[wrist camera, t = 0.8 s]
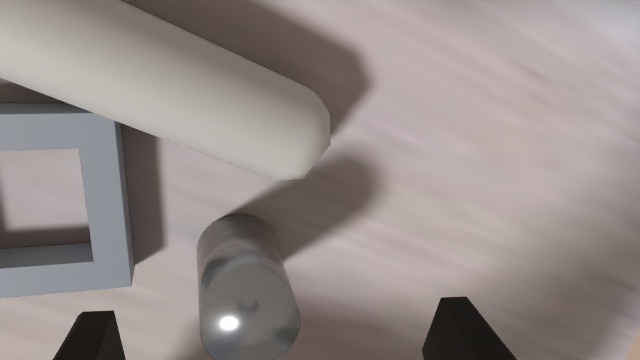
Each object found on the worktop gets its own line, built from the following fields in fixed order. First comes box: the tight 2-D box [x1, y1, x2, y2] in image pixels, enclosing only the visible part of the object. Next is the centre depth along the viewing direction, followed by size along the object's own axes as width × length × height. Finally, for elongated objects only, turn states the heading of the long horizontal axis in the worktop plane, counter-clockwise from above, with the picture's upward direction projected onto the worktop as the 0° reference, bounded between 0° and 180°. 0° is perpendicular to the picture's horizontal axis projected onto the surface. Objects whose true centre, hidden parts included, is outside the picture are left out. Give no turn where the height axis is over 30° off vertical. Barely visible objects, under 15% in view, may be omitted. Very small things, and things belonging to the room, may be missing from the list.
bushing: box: [197, 214, 300, 360], centre depth 26 cm, size 4×4×7 cm
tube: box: [0, 0, 330, 181], centre depth 21 cm, size 5×5×25 cm
